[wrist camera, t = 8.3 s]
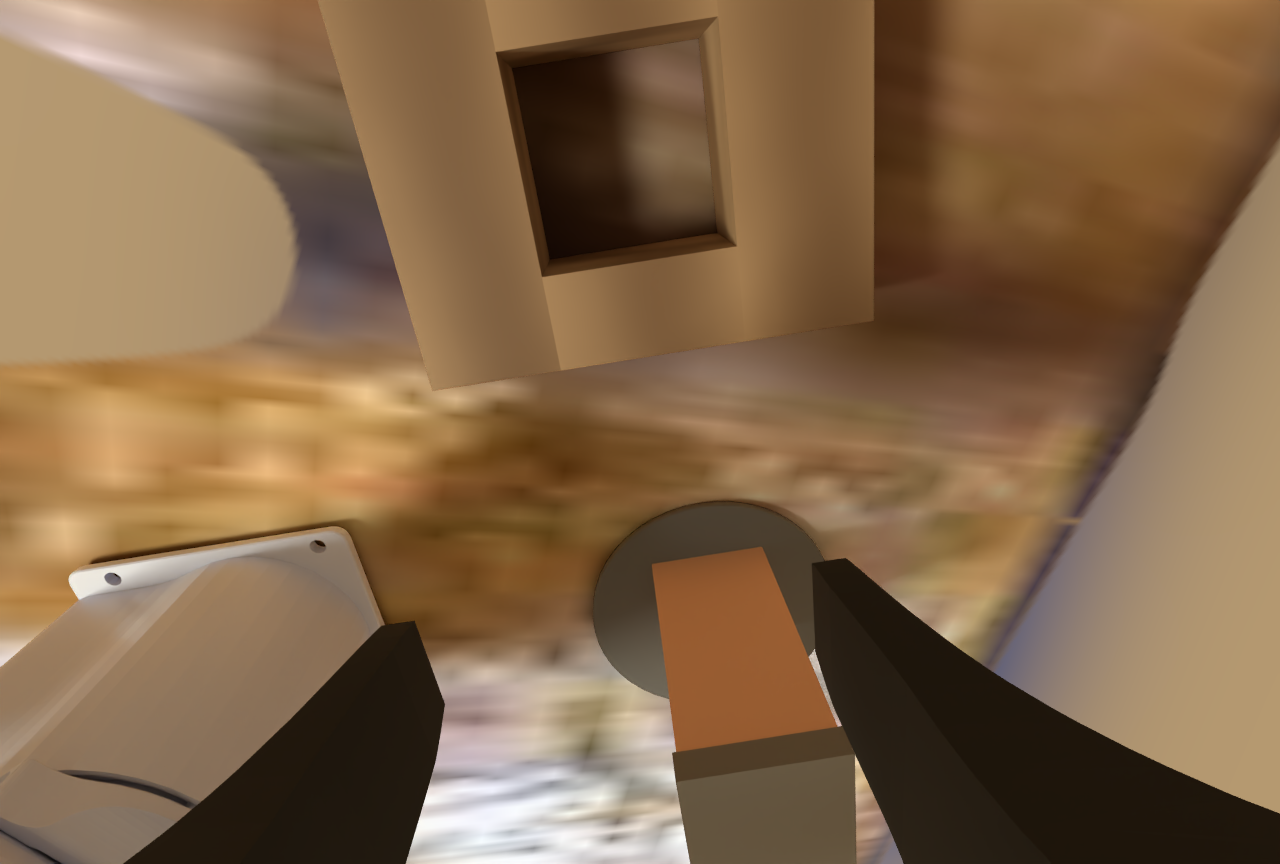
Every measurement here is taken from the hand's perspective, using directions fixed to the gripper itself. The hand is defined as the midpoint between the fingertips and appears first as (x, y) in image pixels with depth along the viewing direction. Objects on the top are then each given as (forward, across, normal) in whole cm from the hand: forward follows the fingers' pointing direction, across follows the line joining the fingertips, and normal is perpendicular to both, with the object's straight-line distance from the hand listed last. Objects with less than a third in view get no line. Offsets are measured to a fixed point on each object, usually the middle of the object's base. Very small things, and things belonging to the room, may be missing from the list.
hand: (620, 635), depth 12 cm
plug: (+10, -2, +8) cm, 13 cm away
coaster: (+10, -2, +8) cm, 14 cm away
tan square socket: (+10, -1, -8) cm, 13 cm away
